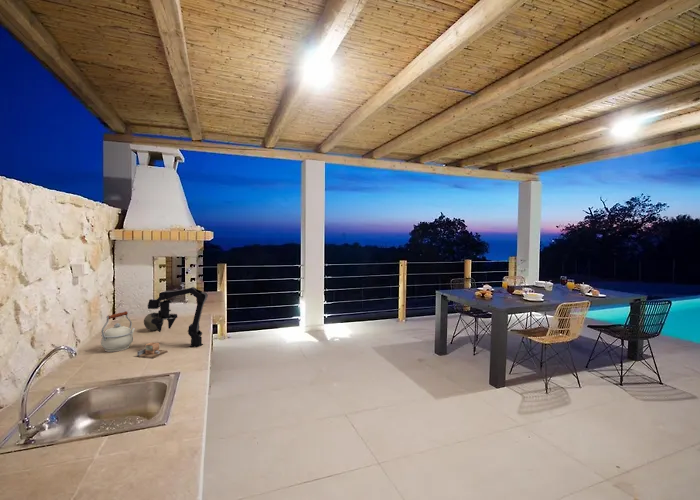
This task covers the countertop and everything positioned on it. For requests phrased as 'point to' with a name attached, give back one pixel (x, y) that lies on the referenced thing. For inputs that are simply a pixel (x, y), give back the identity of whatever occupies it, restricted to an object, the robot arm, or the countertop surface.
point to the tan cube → (151, 348)
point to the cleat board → (156, 354)
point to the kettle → (117, 335)
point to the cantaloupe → (148, 323)
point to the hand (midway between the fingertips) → (164, 330)
